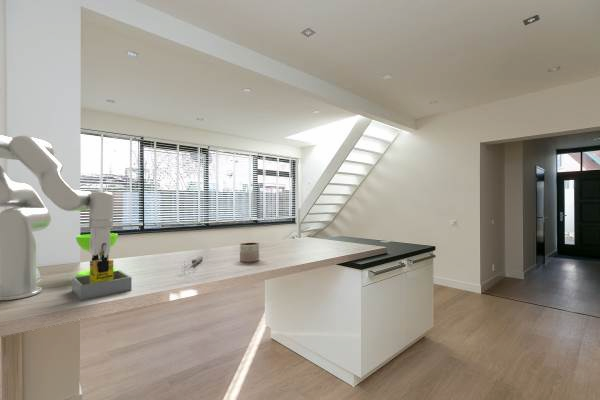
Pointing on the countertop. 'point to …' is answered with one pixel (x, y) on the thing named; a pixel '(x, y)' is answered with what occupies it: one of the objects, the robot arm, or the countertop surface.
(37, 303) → the countertop surface
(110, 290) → the bin
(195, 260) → the kitchen whisk
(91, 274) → the supplement box
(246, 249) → the planter
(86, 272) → the wineglass
